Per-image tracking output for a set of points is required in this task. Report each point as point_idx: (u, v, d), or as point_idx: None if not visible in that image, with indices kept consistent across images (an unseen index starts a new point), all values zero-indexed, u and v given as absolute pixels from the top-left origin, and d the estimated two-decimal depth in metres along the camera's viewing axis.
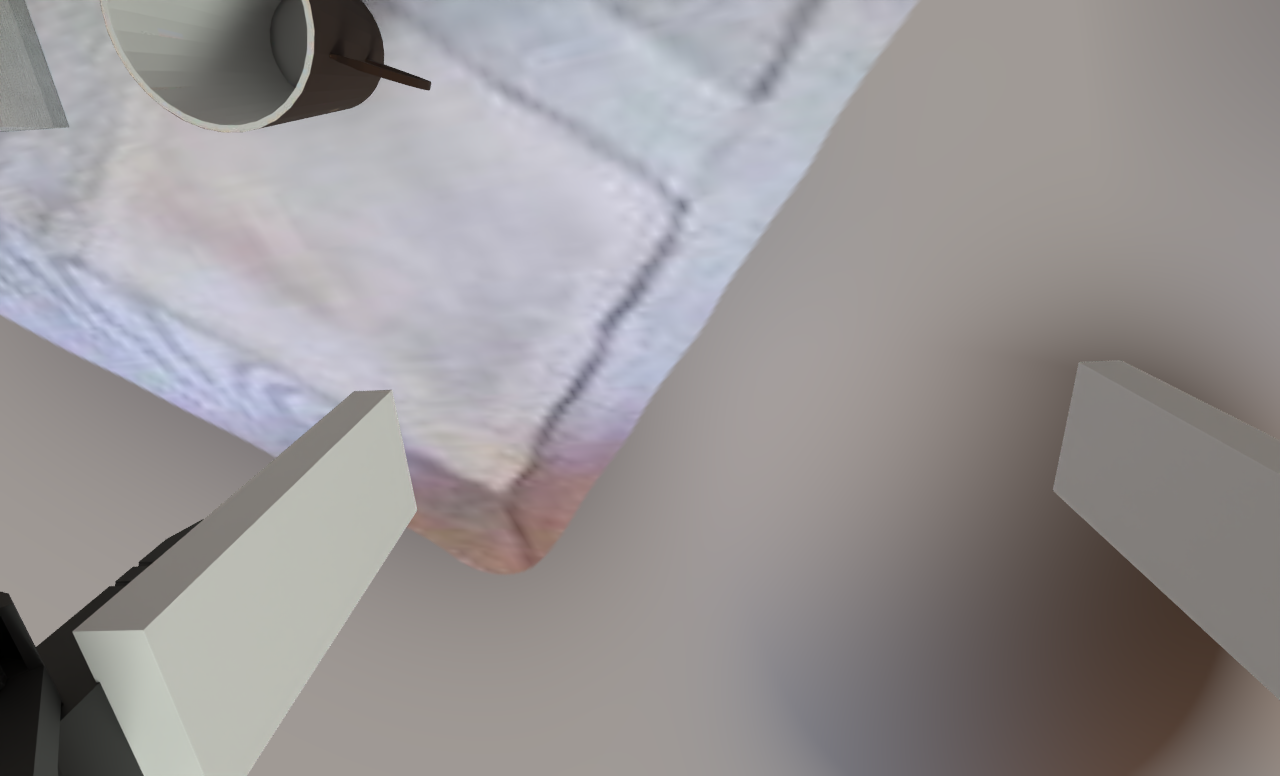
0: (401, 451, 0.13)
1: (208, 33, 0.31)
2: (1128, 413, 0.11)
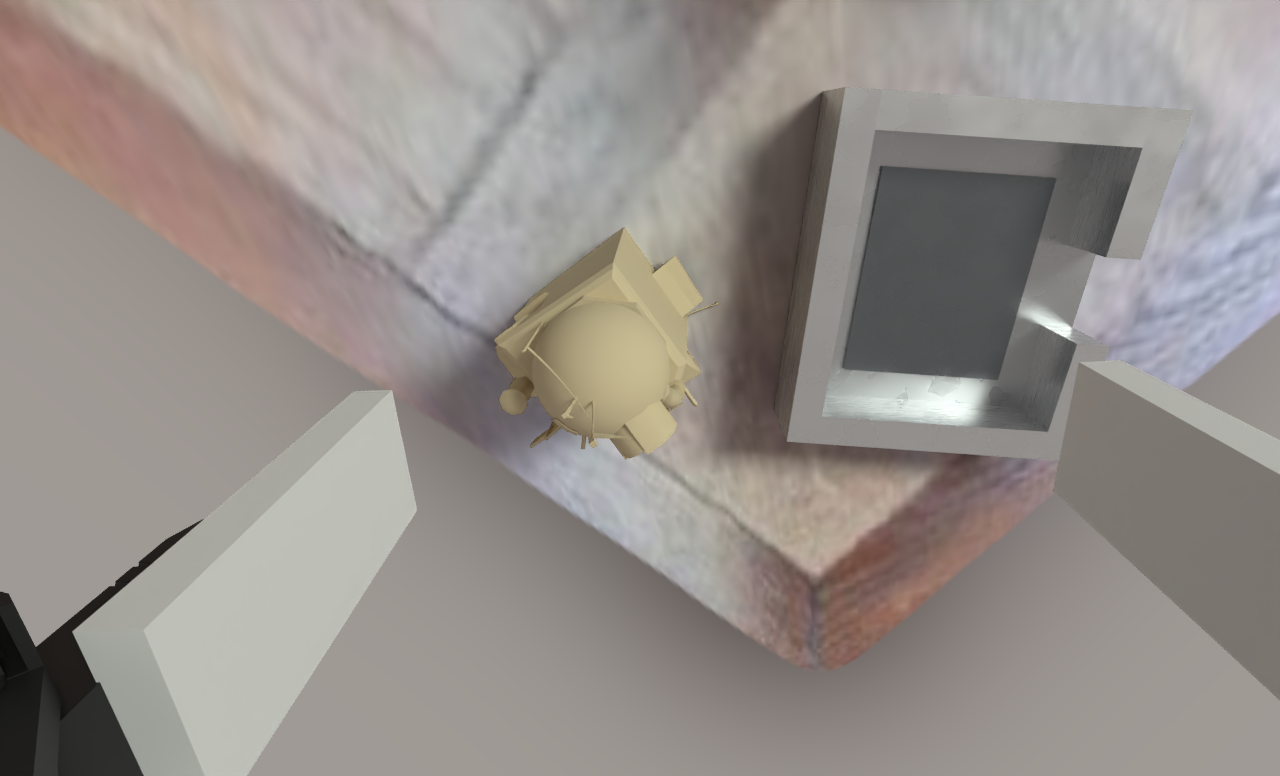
0: (401, 451, 0.13)
1: None
2: (1128, 413, 0.11)
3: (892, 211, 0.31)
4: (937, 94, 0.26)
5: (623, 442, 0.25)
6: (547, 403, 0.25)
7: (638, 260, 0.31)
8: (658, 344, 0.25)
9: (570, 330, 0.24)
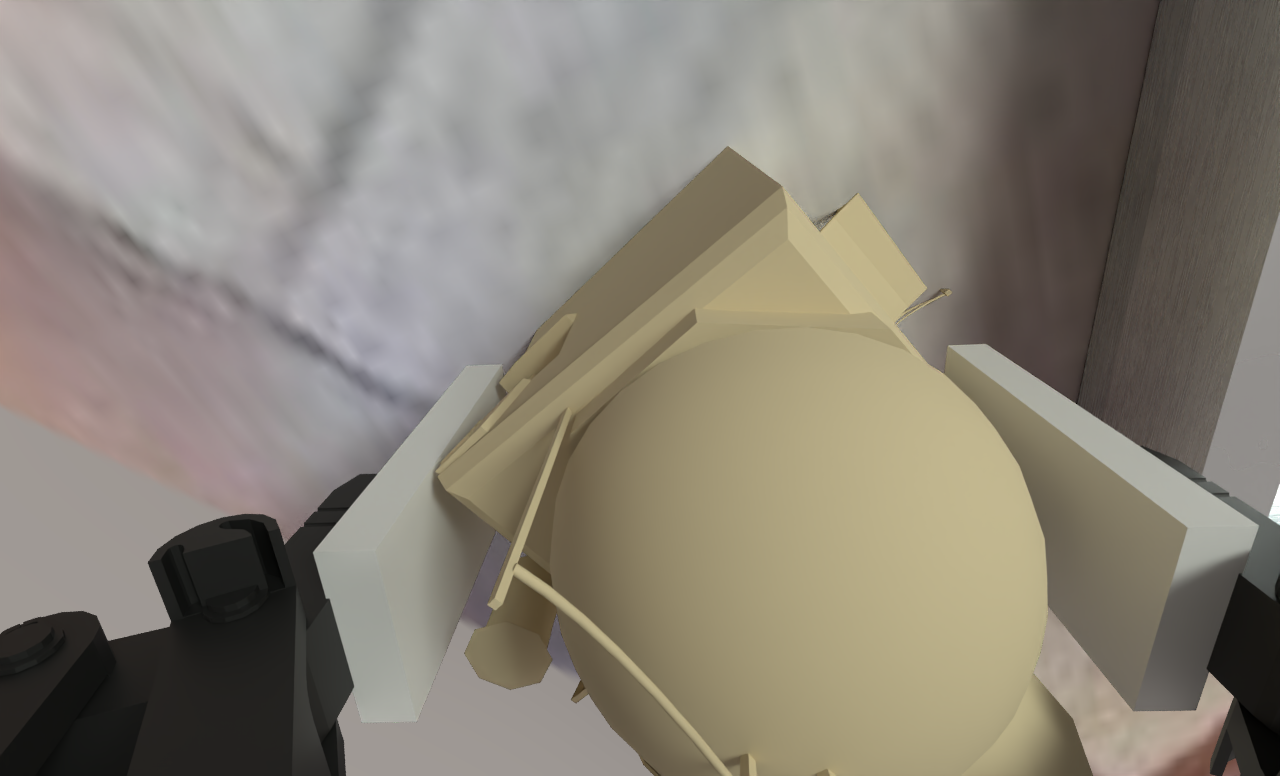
0: None
1: None
2: (978, 390, 0.12)
3: None
4: None
5: None
6: (620, 732, 0.07)
7: None
8: (1011, 461, 0.07)
9: (685, 460, 0.06)
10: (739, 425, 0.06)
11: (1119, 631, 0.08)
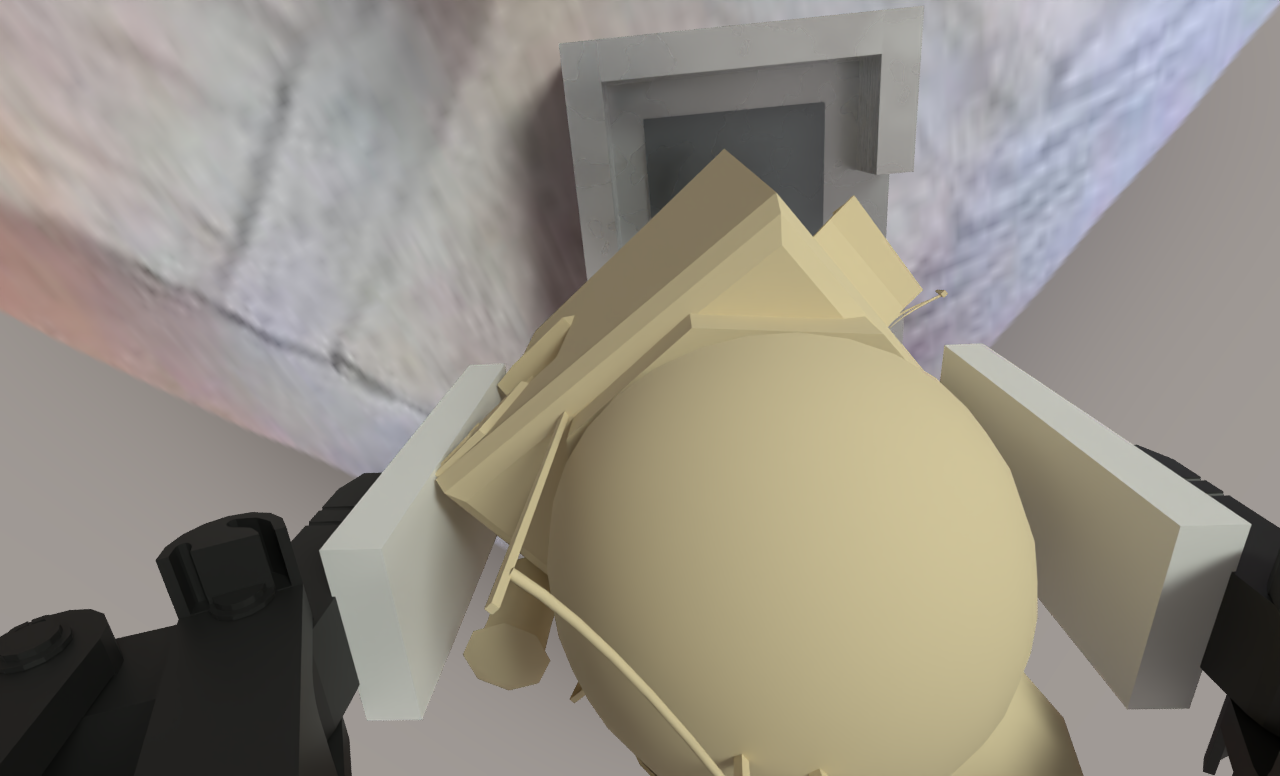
0: None
1: None
2: (974, 389, 0.12)
3: (665, 164, 0.30)
4: (653, 34, 0.25)
5: None
6: (617, 733, 0.07)
7: None
8: (1001, 464, 0.07)
9: (680, 465, 0.06)
10: (733, 430, 0.06)
11: (1113, 629, 0.08)
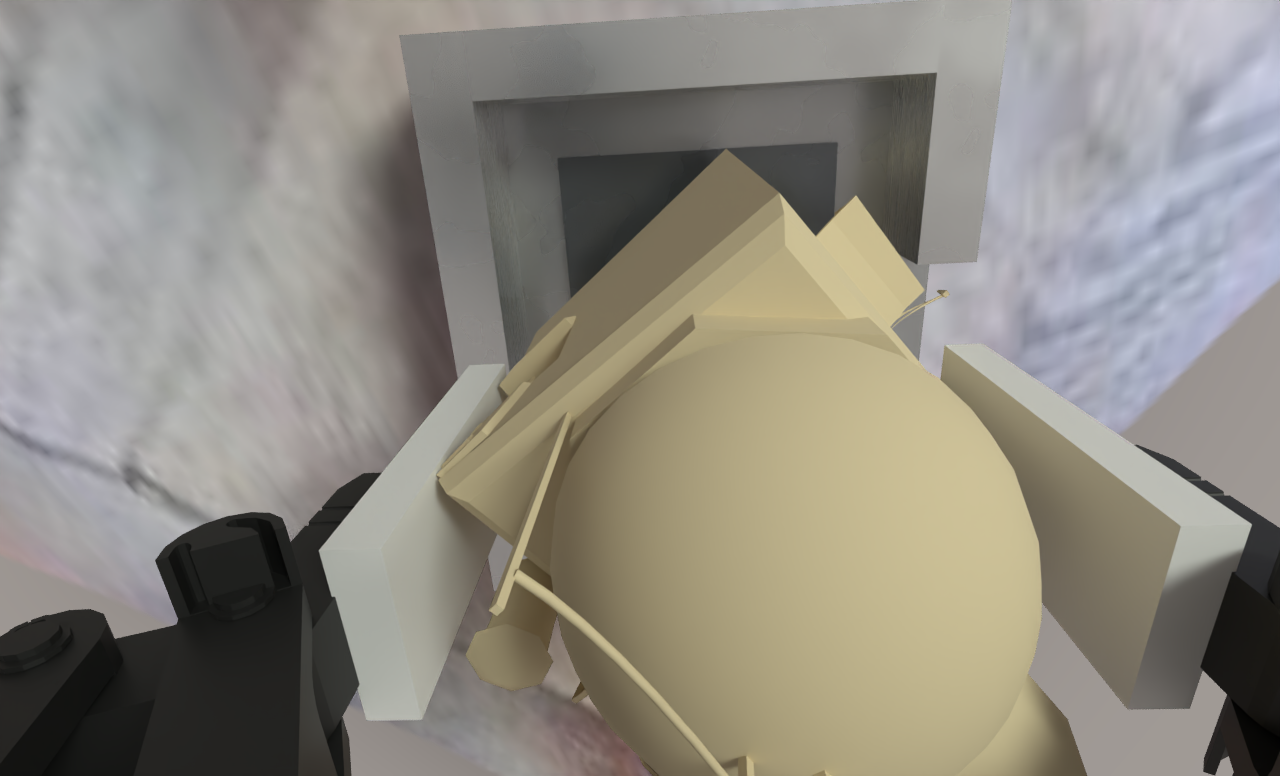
0: None
1: None
2: (975, 389, 0.12)
3: (592, 226, 0.20)
4: (557, 26, 0.15)
5: None
6: (620, 734, 0.07)
7: None
8: (1006, 465, 0.07)
9: (684, 466, 0.06)
10: (737, 431, 0.06)
11: (1113, 630, 0.08)
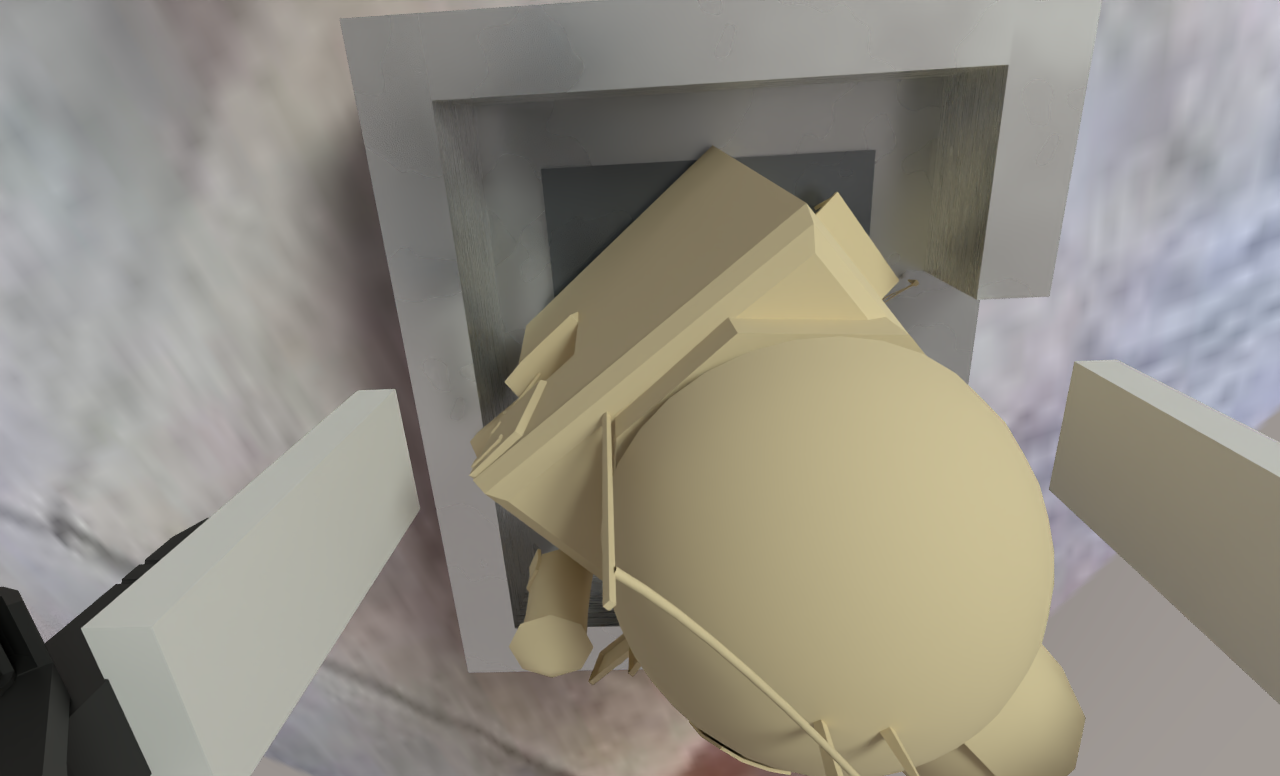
0: (405, 450, 0.13)
1: None
2: (1123, 412, 0.11)
3: (582, 249, 0.17)
4: (535, 7, 0.12)
5: (934, 772, 0.08)
6: (688, 709, 0.07)
7: None
8: None
9: (753, 464, 0.06)
10: (800, 431, 0.06)
11: None
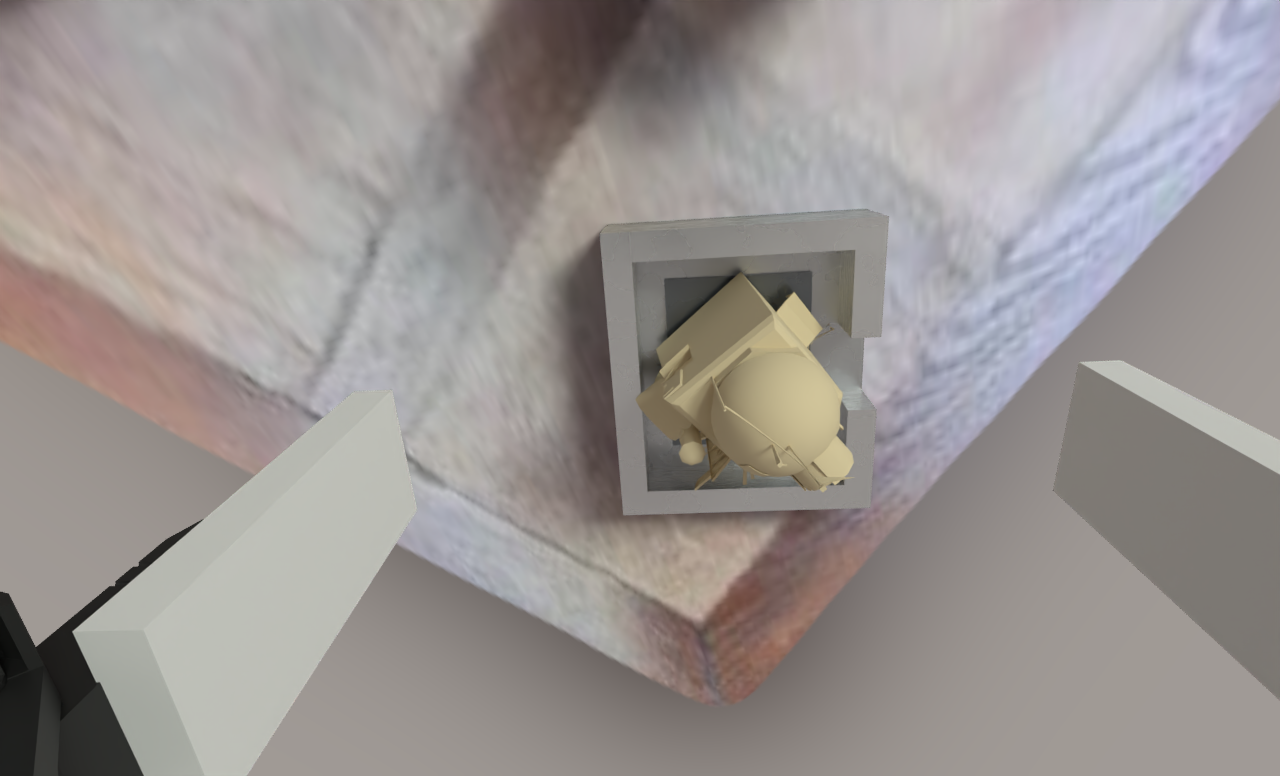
0: (402, 451, 0.13)
1: None
2: (1128, 413, 0.11)
3: (681, 314, 0.36)
4: (674, 230, 0.32)
5: (809, 477, 0.27)
6: (739, 452, 0.27)
7: (766, 302, 0.33)
8: (830, 384, 0.27)
9: (756, 384, 0.26)
10: (767, 375, 0.26)
11: None
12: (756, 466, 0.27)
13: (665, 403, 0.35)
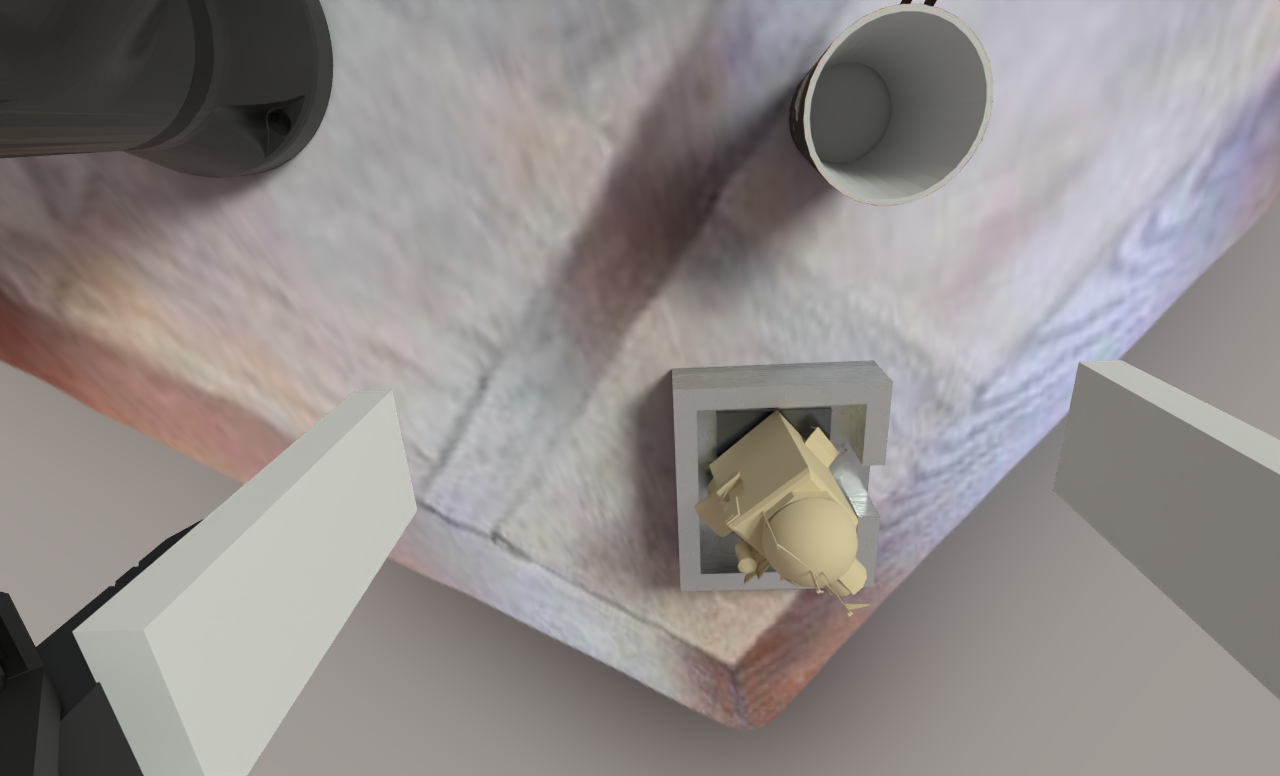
0: (402, 451, 0.13)
1: (855, 177, 0.36)
2: (1128, 413, 0.11)
3: (728, 438, 0.47)
4: (730, 388, 0.42)
5: (835, 588, 0.38)
6: (785, 572, 0.37)
7: (798, 439, 0.43)
8: (851, 521, 0.37)
9: (799, 526, 0.36)
10: (807, 520, 0.36)
11: None
12: (797, 582, 0.37)
13: (718, 512, 0.45)
